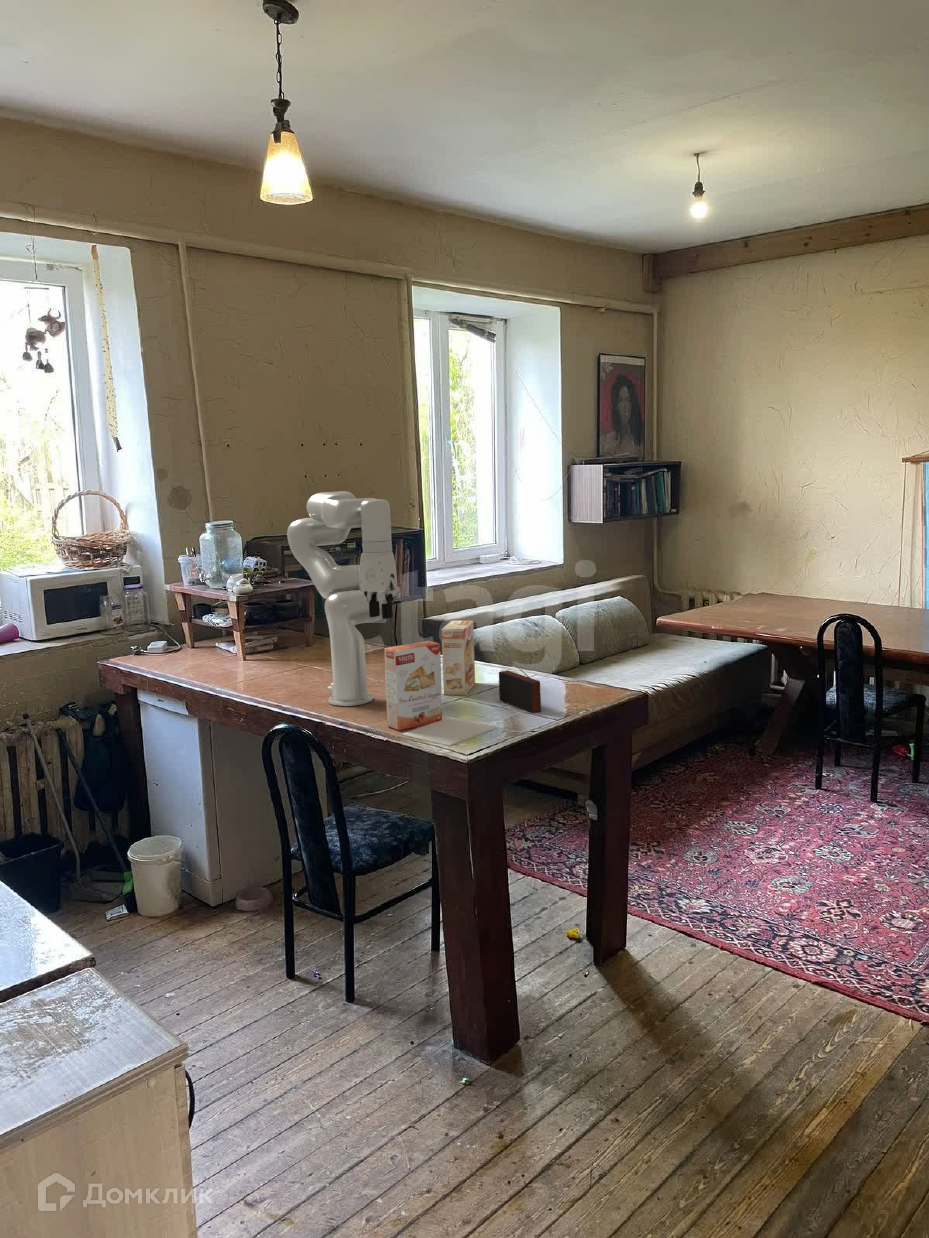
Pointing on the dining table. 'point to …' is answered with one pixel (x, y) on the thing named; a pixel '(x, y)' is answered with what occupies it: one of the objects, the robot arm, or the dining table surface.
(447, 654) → the coffeecake box
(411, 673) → the cracker box
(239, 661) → the dining table surface
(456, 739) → the mat
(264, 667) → the dining table surface
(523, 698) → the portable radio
